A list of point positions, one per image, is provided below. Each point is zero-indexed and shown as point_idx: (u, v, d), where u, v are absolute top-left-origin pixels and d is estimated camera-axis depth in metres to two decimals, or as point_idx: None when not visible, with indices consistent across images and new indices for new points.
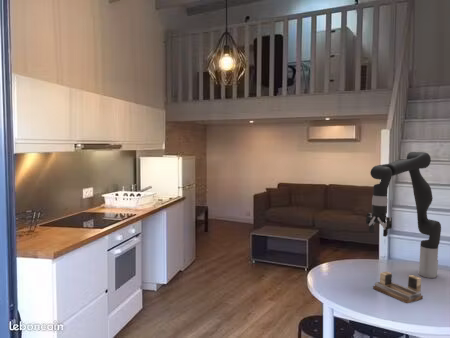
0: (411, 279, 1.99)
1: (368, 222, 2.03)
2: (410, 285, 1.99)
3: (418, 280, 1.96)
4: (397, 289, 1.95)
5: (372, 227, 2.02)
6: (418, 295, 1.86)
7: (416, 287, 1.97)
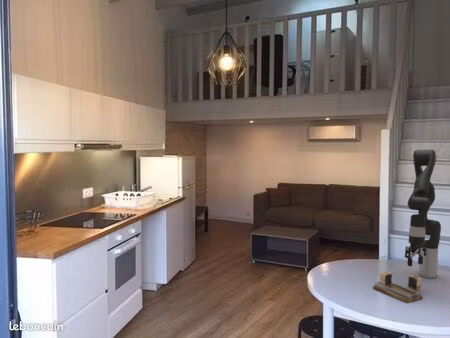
0: (411, 279, 1.99)
1: (409, 256, 1.95)
2: (410, 285, 1.99)
3: (418, 280, 1.96)
4: (397, 289, 1.95)
5: None
6: (418, 295, 1.86)
7: (416, 287, 1.97)
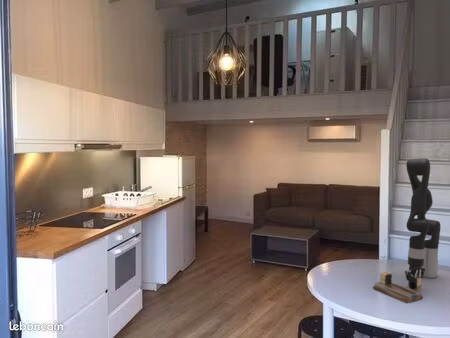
0: None
1: None
2: None
3: (418, 280, 1.97)
4: (397, 289, 1.95)
5: None
6: (418, 295, 1.86)
7: (416, 287, 1.97)
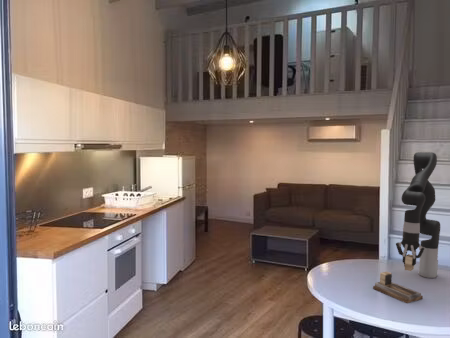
0: None
1: (401, 252, 1.92)
2: None
3: (407, 258, 1.89)
4: (397, 289, 1.95)
5: None
6: (418, 295, 1.86)
7: (405, 265, 1.90)
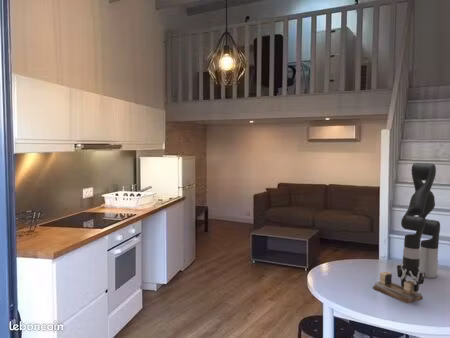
0: None
1: (400, 275, 1.91)
2: None
3: (405, 284, 1.87)
4: (397, 289, 1.95)
5: (404, 281, 1.90)
6: (418, 295, 1.86)
7: (403, 290, 1.88)
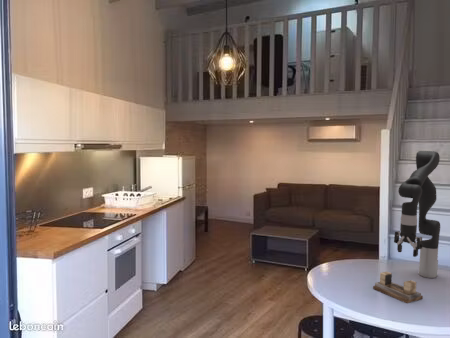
0: None
1: (396, 241, 1.97)
2: None
3: (405, 284, 1.87)
4: (397, 289, 1.95)
5: (400, 246, 1.96)
6: (418, 295, 1.86)
7: (403, 290, 1.88)
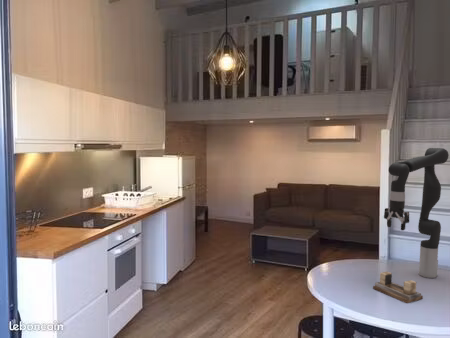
0: None
1: (386, 217, 2.13)
2: None
3: (405, 284, 1.87)
4: (397, 289, 1.95)
5: (390, 221, 2.12)
6: (418, 295, 1.86)
7: (403, 290, 1.88)
